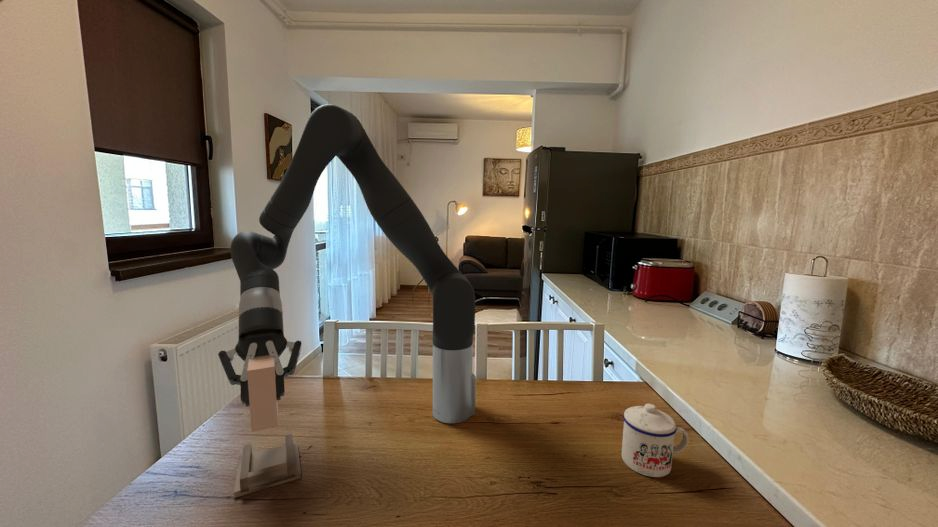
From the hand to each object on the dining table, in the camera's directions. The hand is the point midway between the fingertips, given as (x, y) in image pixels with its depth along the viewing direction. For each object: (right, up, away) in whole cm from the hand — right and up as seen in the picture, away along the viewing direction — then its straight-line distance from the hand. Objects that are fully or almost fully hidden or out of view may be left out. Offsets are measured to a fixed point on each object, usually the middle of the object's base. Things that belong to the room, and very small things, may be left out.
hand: (263, 401), depth 63 cm
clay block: (-1, -4, +2) cm, 5 cm away
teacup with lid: (+71, -15, +7) cm, 73 cm away
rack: (-1, -14, +4) cm, 14 cm away
